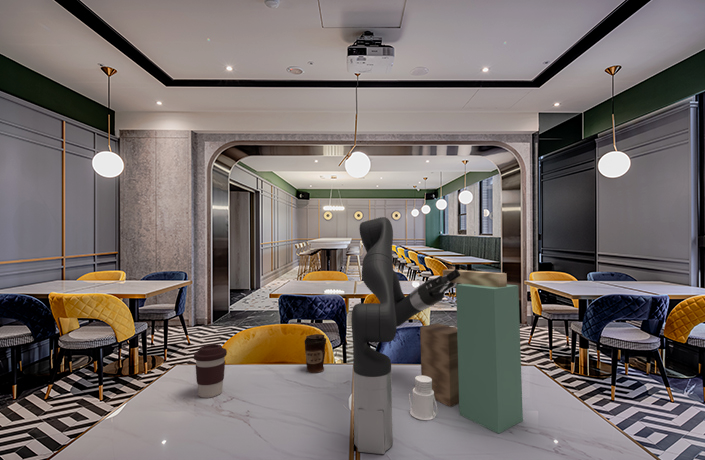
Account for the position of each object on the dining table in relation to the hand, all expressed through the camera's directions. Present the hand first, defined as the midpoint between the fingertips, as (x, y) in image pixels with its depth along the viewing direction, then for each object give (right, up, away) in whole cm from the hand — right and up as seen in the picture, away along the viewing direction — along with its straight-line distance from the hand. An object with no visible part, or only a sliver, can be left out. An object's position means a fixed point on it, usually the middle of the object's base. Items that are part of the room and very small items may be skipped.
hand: (462, 272), depth 103 cm
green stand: (+5, -39, -8) cm, 40 cm away
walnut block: (-4, -39, +5) cm, 40 cm away
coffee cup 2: (-47, -41, +29) cm, 69 cm away
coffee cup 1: (-79, -41, +10) cm, 90 cm away
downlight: (-13, -39, -6) cm, 42 cm away
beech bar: (+2, -3, -3) cm, 5 cm away
